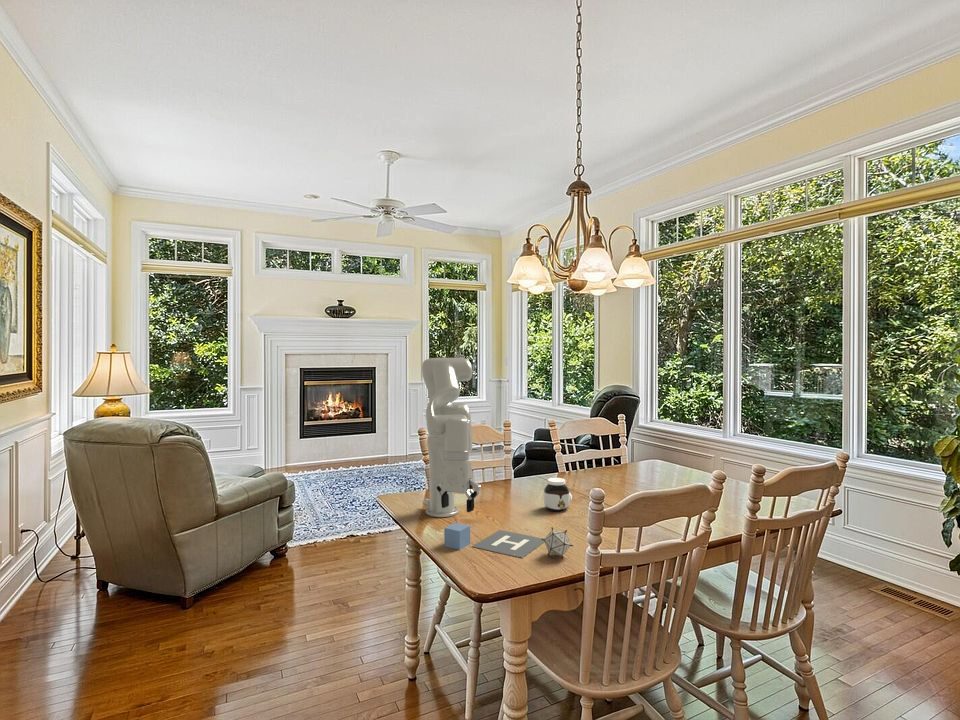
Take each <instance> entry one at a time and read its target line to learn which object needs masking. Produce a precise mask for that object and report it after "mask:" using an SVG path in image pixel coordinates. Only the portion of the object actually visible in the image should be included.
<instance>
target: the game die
mask: <svg viewBox="0 0 960 720" xmlns="http://www.w3.org/2000/svg"><path fill="white" fill-rule="evenodd" d="M567 533H568V529H566V530H565V531H564V530H558V529H554V527H552V526H551V531H550V532H549V533H548V534H547V535H546V536H545V538H543V539H541V540H544V544H545V547H546V549H547V551H548V552H547V556H549V555H550V554H551V555H554V556H555V555H556V556H559V557H561V559H564V554H565V553H566V552H567V551H568V549H570V547H574V545H573V544H571V543H570V540H569V537H568V534H567Z"/></svg>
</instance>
